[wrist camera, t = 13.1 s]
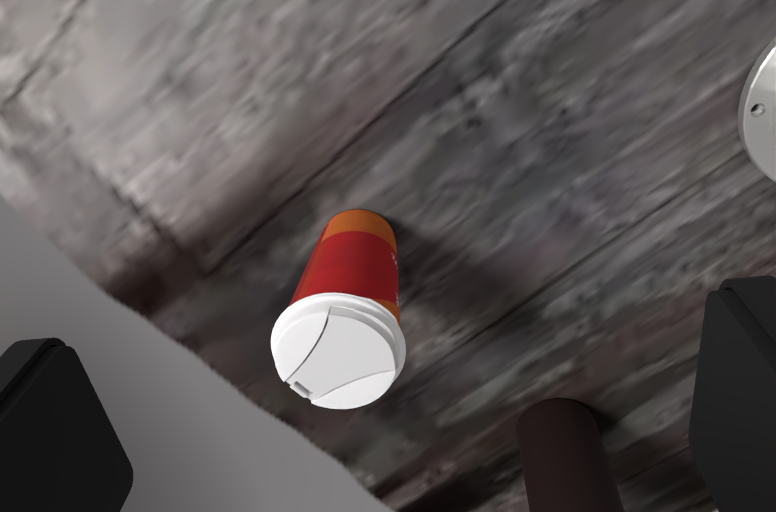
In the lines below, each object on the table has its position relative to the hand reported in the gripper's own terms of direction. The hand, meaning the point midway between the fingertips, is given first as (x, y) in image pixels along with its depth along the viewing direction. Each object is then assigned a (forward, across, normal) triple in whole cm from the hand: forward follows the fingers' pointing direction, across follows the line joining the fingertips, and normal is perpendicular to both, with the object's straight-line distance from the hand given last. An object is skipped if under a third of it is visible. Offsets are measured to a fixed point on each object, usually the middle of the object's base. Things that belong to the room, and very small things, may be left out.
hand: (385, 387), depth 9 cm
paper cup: (+34, +6, +15) cm, 37 cm away
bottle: (+34, -8, +35) cm, 49 cm away
